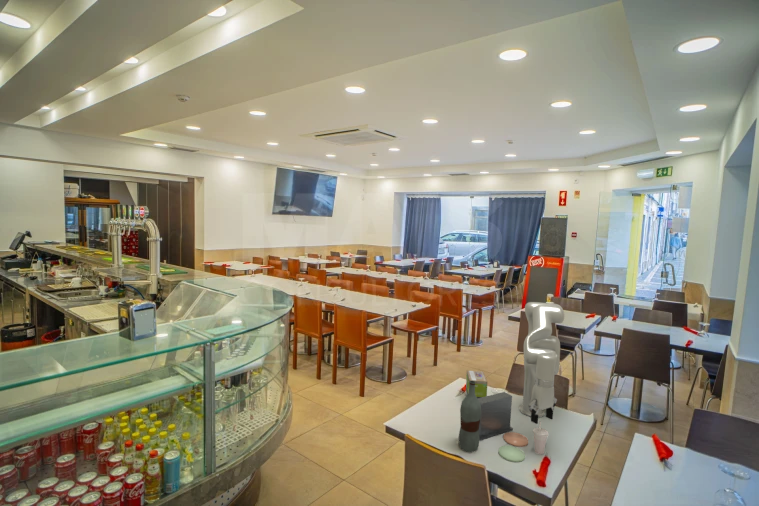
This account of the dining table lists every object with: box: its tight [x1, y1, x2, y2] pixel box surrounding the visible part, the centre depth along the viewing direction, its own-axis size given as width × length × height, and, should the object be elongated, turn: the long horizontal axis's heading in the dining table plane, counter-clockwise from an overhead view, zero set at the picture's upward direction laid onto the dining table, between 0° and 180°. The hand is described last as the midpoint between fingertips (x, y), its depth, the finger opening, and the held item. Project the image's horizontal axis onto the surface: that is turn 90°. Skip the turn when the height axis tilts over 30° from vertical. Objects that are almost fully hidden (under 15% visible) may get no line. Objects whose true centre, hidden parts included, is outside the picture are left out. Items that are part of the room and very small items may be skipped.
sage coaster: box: [498, 445, 526, 463], centre depth 174 cm, size 11×11×1 cm
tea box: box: [465, 370, 488, 398], centre depth 227 cm, size 15×10×15 cm, turn 174°
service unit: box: [477, 391, 514, 442], centre depth 192 cm, size 22×7×17 cm, turn 120°
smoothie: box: [532, 421, 549, 455], centre depth 176 cm, size 6×6×14 cm
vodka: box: [458, 381, 481, 453], centre depth 177 cm, size 9×9×30 cm
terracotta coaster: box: [502, 431, 529, 448], centre depth 186 cm, size 11×11×1 cm
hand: (541, 420), depth 175 cm, fingers open, 9 cm apart
